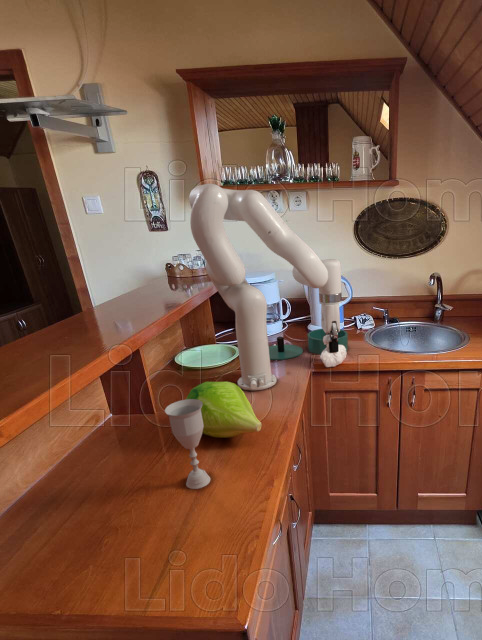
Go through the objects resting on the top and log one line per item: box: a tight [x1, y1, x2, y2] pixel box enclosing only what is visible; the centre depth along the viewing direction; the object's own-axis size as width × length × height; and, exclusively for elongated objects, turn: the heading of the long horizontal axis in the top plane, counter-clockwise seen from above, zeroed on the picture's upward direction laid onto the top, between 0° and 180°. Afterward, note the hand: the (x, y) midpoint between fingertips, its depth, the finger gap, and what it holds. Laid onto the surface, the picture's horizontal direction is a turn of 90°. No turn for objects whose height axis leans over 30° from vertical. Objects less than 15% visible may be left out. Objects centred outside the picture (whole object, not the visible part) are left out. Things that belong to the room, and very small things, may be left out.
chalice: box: [164, 398, 211, 490], centre depth 87 cm, size 7×7×18 cm
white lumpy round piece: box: [319, 335, 348, 368], centre depth 148 cm, size 12×8×11 cm
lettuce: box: [185, 381, 263, 439], centre depth 106 cm, size 15×22×15 cm
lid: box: [269, 336, 304, 361], centre depth 162 cm, size 17×17×7 cm
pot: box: [306, 328, 349, 356], centre depth 165 cm, size 16×16×6 cm
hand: (332, 348), depth 147 cm, fingers closed on white lumpy round piece, 5 cm apart
